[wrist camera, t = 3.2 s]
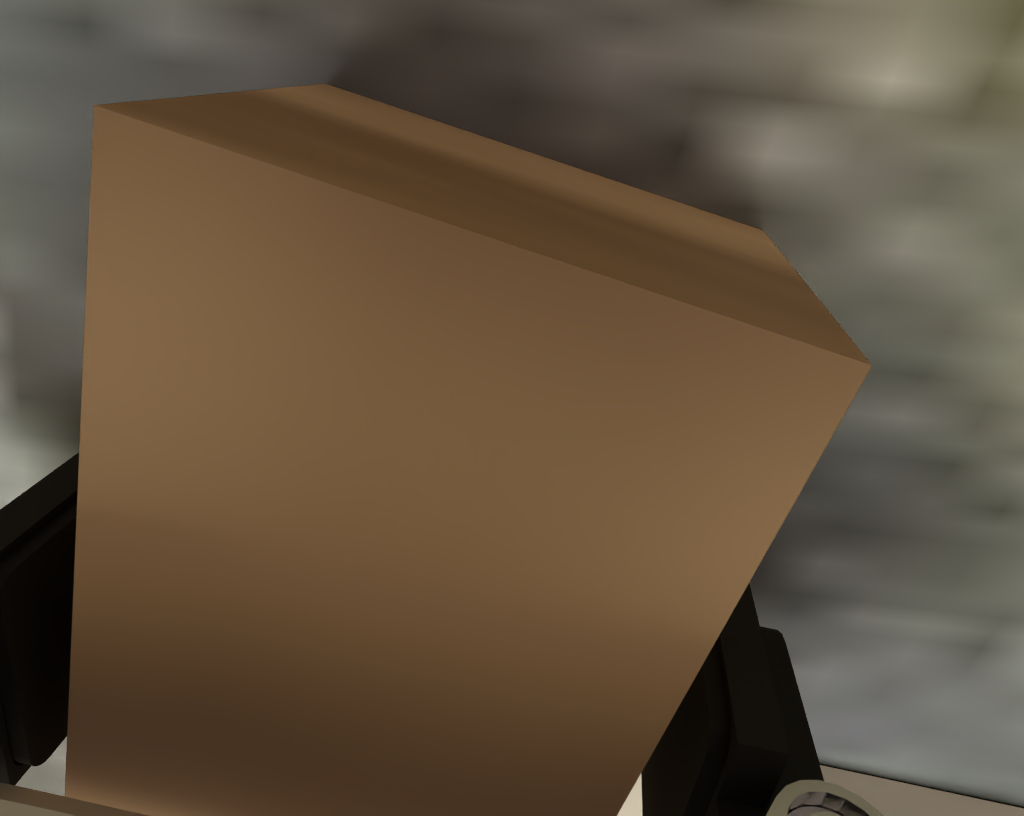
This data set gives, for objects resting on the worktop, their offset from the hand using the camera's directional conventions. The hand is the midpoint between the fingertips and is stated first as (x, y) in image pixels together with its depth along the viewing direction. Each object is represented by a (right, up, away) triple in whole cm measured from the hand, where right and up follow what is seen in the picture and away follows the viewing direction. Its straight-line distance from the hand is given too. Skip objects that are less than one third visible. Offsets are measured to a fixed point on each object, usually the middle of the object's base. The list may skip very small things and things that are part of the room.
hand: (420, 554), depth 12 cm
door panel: (0, +1, +1) cm, 1 cm away
